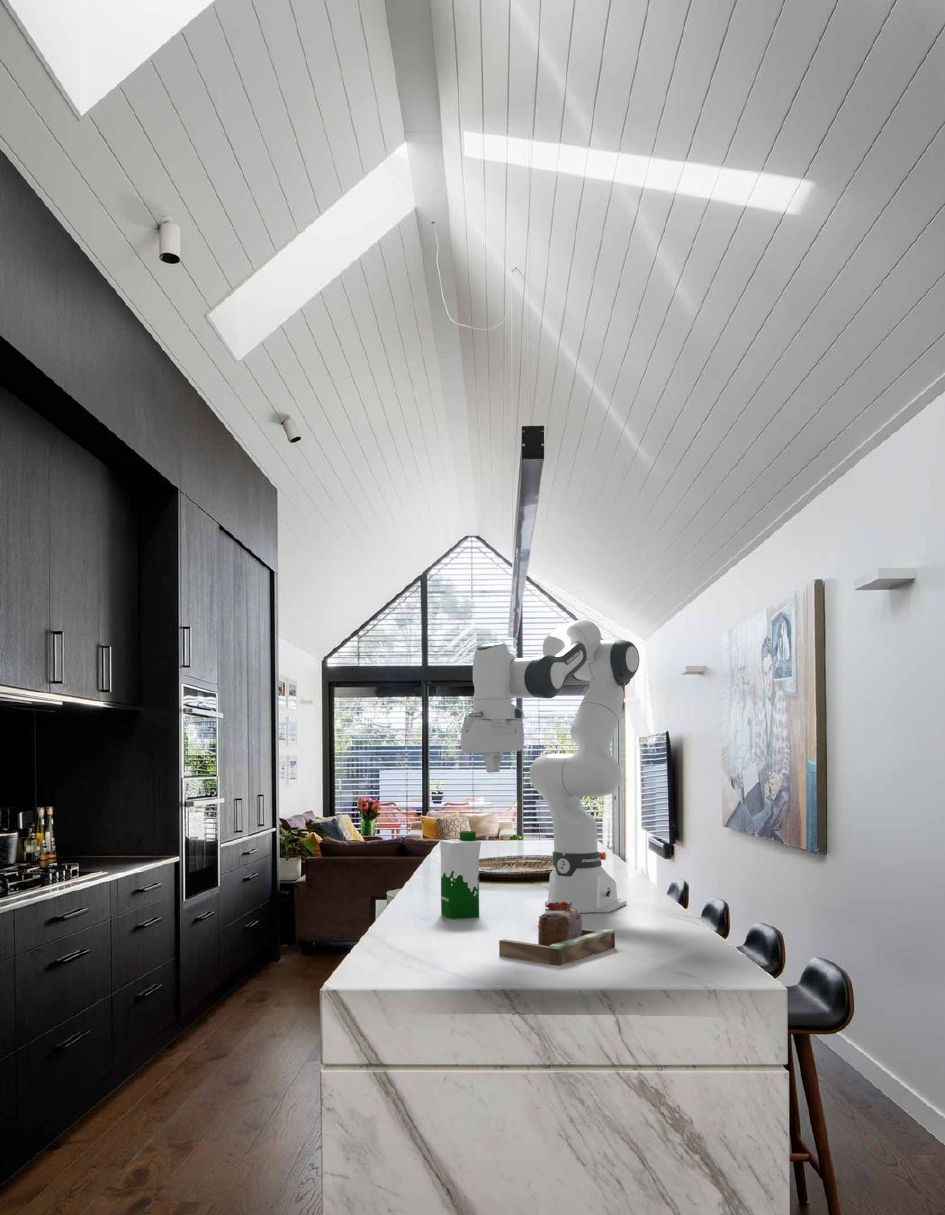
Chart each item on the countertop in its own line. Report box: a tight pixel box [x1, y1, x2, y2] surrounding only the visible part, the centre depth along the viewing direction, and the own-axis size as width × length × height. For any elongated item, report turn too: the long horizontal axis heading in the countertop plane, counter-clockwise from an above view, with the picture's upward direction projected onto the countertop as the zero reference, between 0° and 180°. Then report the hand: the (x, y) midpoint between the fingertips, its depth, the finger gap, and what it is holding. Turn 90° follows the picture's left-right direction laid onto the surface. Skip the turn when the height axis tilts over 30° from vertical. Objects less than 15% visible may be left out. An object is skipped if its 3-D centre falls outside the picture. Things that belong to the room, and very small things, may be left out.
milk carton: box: [439, 830, 482, 920], centre depth 241 cm, size 9×9×20 cm
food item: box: [537, 902, 583, 946], centre depth 200 cm, size 14×8×10 cm, turn 167°
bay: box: [498, 927, 616, 967], centre depth 199 cm, size 21×14×4 cm, turn 141°
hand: (493, 772), depth 227 cm, fingers closed
